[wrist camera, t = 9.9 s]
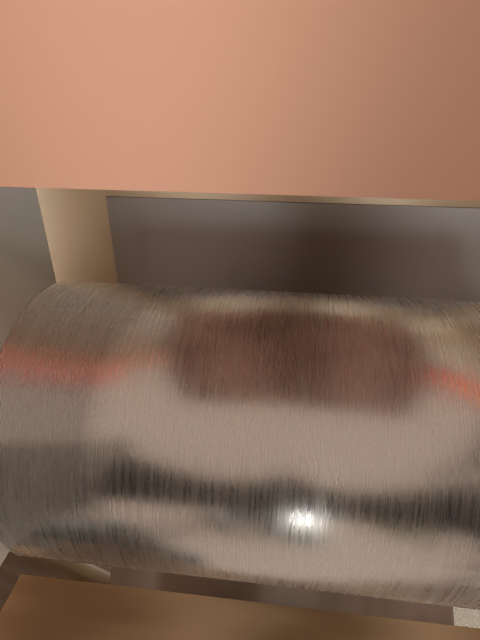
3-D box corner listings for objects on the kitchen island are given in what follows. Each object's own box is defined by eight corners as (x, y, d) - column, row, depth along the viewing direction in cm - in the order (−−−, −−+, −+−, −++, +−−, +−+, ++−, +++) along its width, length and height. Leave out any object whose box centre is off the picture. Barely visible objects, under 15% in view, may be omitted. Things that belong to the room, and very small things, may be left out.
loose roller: (127, 411, 17) (36, 613, 11) (91, 237, 13) (-74, 409, 7) (460, 438, 16) (548, 680, 10) (529, 255, 12) (737, 478, 6)
